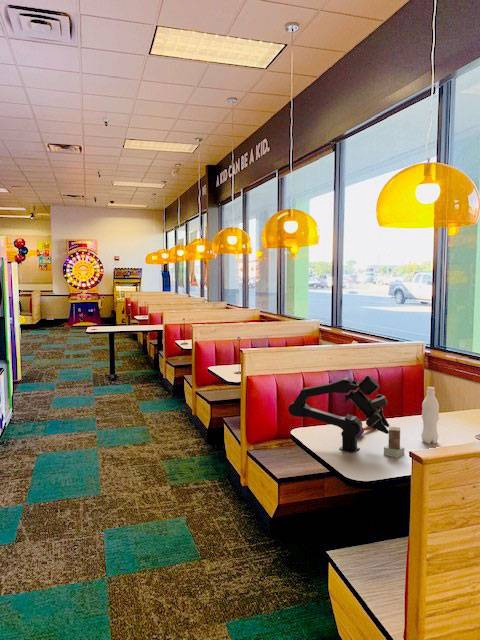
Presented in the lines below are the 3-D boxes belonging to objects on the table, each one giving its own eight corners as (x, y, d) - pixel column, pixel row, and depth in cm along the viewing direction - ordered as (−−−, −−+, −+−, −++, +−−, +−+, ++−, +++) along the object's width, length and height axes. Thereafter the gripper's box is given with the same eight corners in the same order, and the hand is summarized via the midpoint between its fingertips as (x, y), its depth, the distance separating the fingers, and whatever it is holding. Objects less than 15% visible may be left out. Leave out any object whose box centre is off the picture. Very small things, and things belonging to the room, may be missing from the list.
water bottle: (439, 441, 218) (441, 386, 216) (436, 445, 212) (437, 390, 210) (423, 438, 222) (424, 384, 220) (419, 442, 216) (420, 388, 214)
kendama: (381, 422, 233) (359, 429, 219) (378, 434, 234) (356, 441, 220) (370, 418, 238) (348, 423, 223) (368, 429, 239) (345, 435, 224)
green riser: (396, 457, 199) (396, 450, 198) (383, 454, 203) (383, 447, 203) (404, 454, 203) (404, 447, 202) (391, 450, 207) (391, 443, 207)
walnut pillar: (388, 448, 201) (388, 429, 200) (388, 444, 205) (389, 426, 205) (399, 449, 200) (400, 430, 199) (399, 445, 204) (400, 427, 203)
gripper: (374, 395, 194) (403, 424, 191) (377, 384, 212) (403, 411, 209) (354, 412, 197) (382, 441, 195) (358, 401, 215) (383, 427, 212)
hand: (388, 429), depth 203 cm, fingers open, 9 cm apart
